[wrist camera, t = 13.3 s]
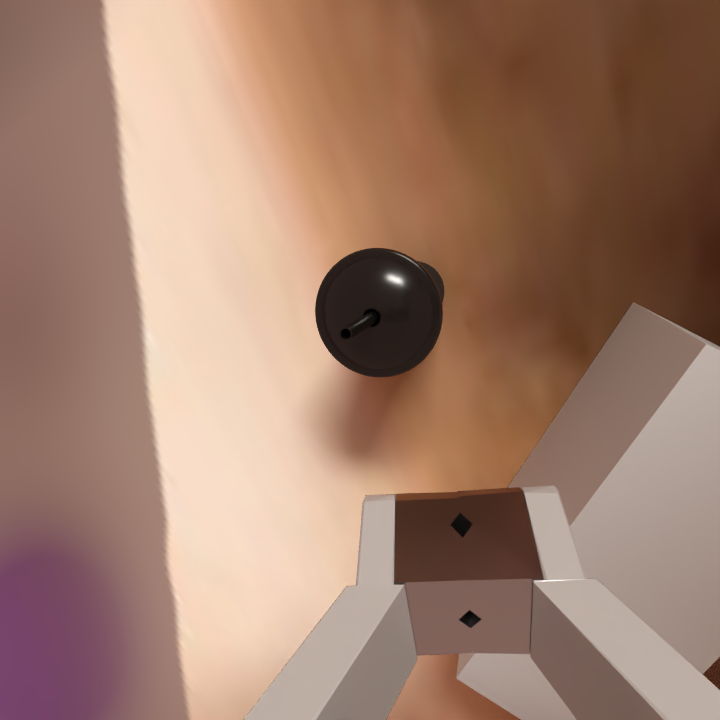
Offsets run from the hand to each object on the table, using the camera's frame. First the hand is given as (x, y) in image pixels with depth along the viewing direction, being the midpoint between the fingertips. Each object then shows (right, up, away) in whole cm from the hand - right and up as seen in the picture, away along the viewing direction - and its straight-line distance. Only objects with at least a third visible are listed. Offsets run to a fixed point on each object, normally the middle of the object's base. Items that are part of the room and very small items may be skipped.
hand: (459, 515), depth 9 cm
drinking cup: (+3, +8, +36) cm, 37 cm away
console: (+18, -6, +35) cm, 40 cm away
